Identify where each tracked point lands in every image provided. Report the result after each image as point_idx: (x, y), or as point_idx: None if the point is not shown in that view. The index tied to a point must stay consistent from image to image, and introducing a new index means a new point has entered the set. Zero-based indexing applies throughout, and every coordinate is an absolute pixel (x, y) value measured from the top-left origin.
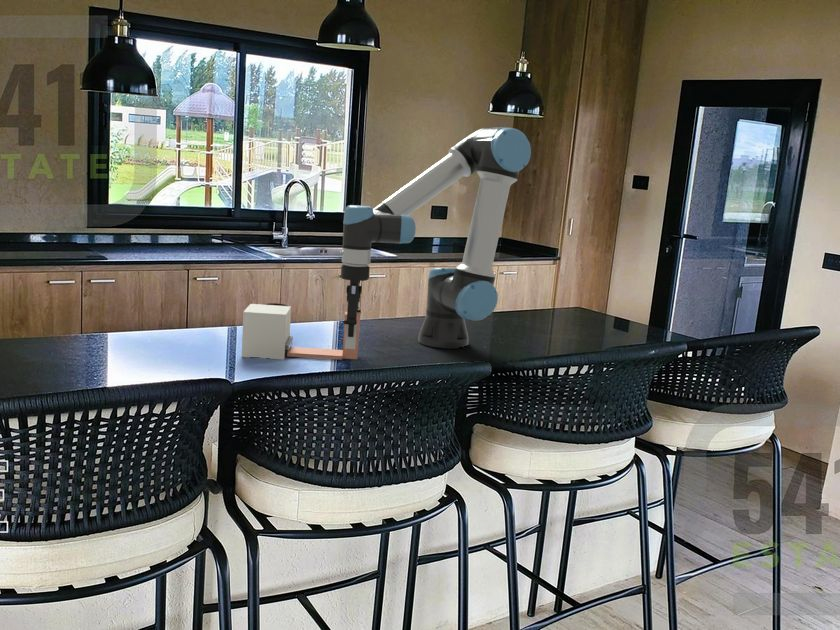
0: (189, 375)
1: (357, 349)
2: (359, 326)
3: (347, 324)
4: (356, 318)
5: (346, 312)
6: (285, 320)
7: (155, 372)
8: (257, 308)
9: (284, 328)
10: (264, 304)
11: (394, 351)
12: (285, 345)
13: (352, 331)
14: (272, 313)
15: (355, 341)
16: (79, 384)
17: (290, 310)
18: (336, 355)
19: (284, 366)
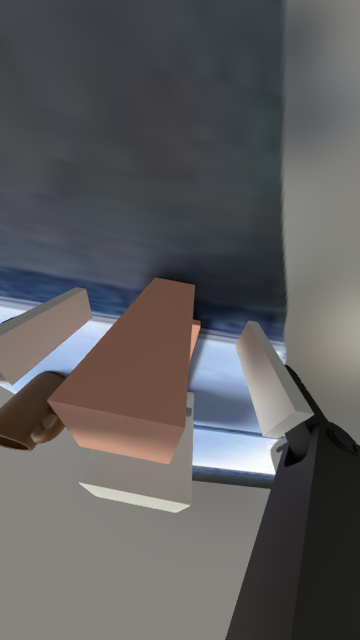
0: (258, 451)
1: (193, 296)
2: (116, 324)
3: (279, 433)
4: (323, 465)
5: (106, 449)
6: (191, 482)
7: (242, 459)
8: (136, 502)
9: (191, 457)
10: (13, 449)
11: (17, 84)
12: (190, 415)
13: (302, 392)
14: (182, 507)
15: (267, 340)
16: (266, 478)
17: (95, 472)
18: (195, 336)
19: (235, 397)
